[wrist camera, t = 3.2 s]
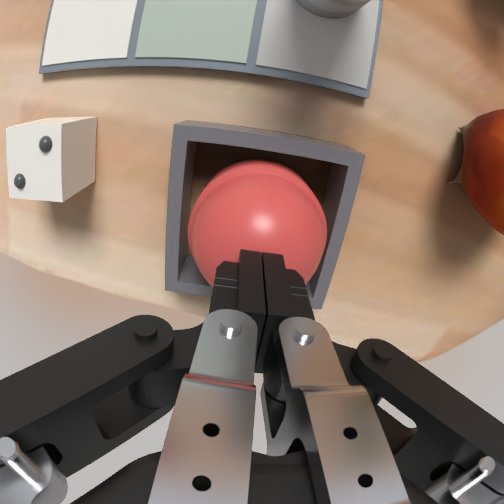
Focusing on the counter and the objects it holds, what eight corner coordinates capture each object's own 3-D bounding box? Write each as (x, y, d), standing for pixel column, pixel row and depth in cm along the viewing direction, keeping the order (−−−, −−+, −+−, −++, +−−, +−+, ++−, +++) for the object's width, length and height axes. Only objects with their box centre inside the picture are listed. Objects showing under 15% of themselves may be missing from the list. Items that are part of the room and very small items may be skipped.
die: (97, 116, 15) (57, 125, 12) (95, 180, 17) (59, 204, 13) (45, 118, 15) (2, 128, 11) (45, 177, 17) (6, 199, 13)
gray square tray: (347, 145, 16) (365, 155, 14) (312, 281, 21) (321, 309, 18) (186, 120, 16) (173, 124, 13) (175, 264, 20) (165, 290, 17)
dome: (326, 168, 16) (364, 205, 10) (301, 272, 19) (318, 342, 13) (203, 148, 15) (178, 176, 10) (193, 258, 18) (172, 326, 13)
